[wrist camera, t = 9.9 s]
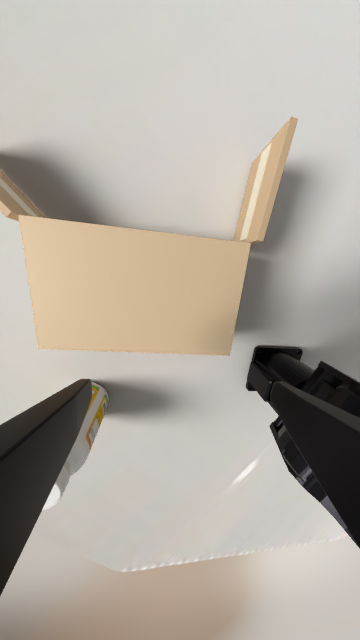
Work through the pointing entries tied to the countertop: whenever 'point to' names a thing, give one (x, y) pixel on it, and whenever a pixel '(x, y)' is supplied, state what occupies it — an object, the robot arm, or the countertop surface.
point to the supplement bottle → (81, 443)
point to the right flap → (264, 186)
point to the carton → (131, 288)
